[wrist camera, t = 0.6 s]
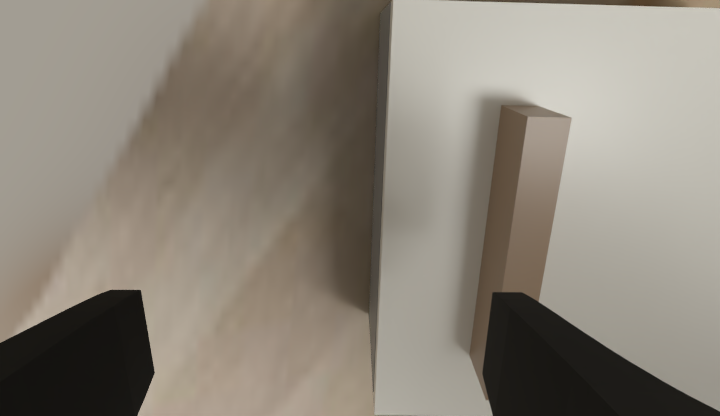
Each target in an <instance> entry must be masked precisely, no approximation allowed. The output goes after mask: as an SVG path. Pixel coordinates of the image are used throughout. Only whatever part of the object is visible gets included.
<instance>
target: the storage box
mask: <svg viewBox="0 0 720 416" xmlns="http://www.w3.org/2000/svg"><path fill="white" fill-rule="evenodd" d="M390 11H391V2H390V3H389V4H388V5H387V6H386V7H385V8H384V10H383V11H382V12H381V13H380V33H379V60H378V87H377V114H376V140H375V167H374V194H373V221H372V248H371V275H370V302H369V324H370V343H371V362H372V380H373V392H374V374H375V351H376V328H377V306H378V283H379V260H380V238H381V215H382V192H383V170H384V147H385V124H386V102H387V79H388V56H389V33H390Z"/></svg>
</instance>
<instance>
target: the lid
mask: <svg viewBox="0 0 720 416" xmlns="http://www.w3.org/2000/svg"><path fill="white" fill-rule="evenodd" d="M493 292H522V293H524V294H526V295H528V296H530V297H531V298H533V299H535V300H536V301H538V302H539V303H541V304H543V305H544V306H546V307H547V308H549V309H550V310H552V311H553V312H555V313H556V314H558V315H559V316H561V317H562V318H564V319H565V320H567V321H568V322H569V323H571V324H572V325H574V326H575V327H577V328H578V329H580V330H581V331H583V332H584V333H586V334H587V335H589V336H591V337H592V338H594V339H595V340H597V341H598V342H600V343H601V344H603V345H604V346H606V347H607V348H609V349H611V350H612V351H614V352H615V353H617V354H619V355H620V356H622V357H623V358H625V359H627V360H628V361H630V362H631V363H633V364H635V365H637V366H638V367H640V368H642V369H643V370H645V371H647V372H648V373H650V374H652V375H653V376H655V377H657V378H658V379H660V380H662V381H664V382H665V383H667V384H669V385H671V386H672V387H674V388H676V389H678V390H680V391H682V392H683V393H685V394H687V395H689V396H691V397H693V398H695V399H697V400H699V401H700V402H702V403H704V404H706V405H708V406H710V407H712V408H714V409H716V410H718V411H720V8H689V7H654V6H619V5H585V4H550V3H515V2H480V1H446V0H392V1H391V11H390V33H389V56H388V79H387V102H386V124H385V147H384V170H383V192H382V215H381V238H380V260H379V283H378V306H377V328H376V351H375V374H374V397H373V399H374V415H430V416H493V414H492V410H491V407H490V403H489V399H488V395H487V391H486V387H485V383H484V379H483V375H482V371H483V363H484V356H485V348H486V340H487V332H488V324H489V316H490V308H491V300H492V293H493Z"/></svg>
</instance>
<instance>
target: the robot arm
mask: <svg viewBox="0 0 720 416" xmlns="http://www.w3.org/2000/svg"><path fill="white" fill-rule="evenodd" d="M154 373H155V372H154V366H153V360H152V354H151V348H150V342H149V337H148V331H147V325H146V319H145V313H144V307H143V301H142V295H141V290H109V291H107V292H104V293H101V294H99V295H96V296H94V297H92V298H90V299H88V300H85V301H83V302H81V303H79V304H77V305H75V306H73V307H71V308H69V309H67V310H65V311H63V312H61V313H59V314H57V315H55V316H53V317H51V318H49V319H47V320H45V321H43V322H41V323H39V324H37V325H35V326H33V327H31V328H29V329H27V330H25V331H23V332H21V333H19V334H17V335H15V336H13V337H11V338H9V339H7V340H5V341H4V342H1V343H0V416H137V415H138V412H139V410H140V408H141V405H142V403H143V401H144V398H145V396H146V393H147V391H148V388H149V386H150V383H151V381H152V378H153V376H154ZM482 375H483V379H484V383H485V387H486V391H487V395H488V399H489V403H490V407H491V410H492V414H493V416H720V411H718V410H716V409H714V408H712V407H710V406H708V405H706V404H704V403H702V402H700V401H699V400H697V399H695V398H693V397H691V396H689V395H687V394H685V393H683V392H682V391H680V390H678V389H676V388H674V387H672V386H671V385H669V384H667V383H665V382H664V381H662V380H660V379H658V378H657V377H655V376H653V375H652V374H650V373H648V372H647V371H645V370H643V369H642V368H640V367H638V366H637V365H635V364H633V363H631V362H630V361H628V360H627V359H625V358H623V357H622V356H620V355H619V354H617V353H615V352H614V351H612V350H611V349H609V348H607V347H606V346H604V345H603V344H601V343H600V342H598V341H597V340H595V339H594V338H592V337H591V336H589V335H587V334H586V333H584V332H583V331H581V330H580V329H578V328H577V327H575V326H574V325H572V324H571V323H569V322H568V321H567V320H565V319H564V318H562V317H561V316H559V315H558V314H556V313H555V312H553V311H552V310H550V309H549V308H547V307H546V306H544V305H543V304H541V303H539V302H538V301H536V300H535V299H533V298H531V297H530V296H528V295H526V294H524V293H522V292H493V293H492V300H491V308H490V316H489V324H488V332H487V340H486V348H485V356H484V363H483V371H482Z"/></svg>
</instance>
